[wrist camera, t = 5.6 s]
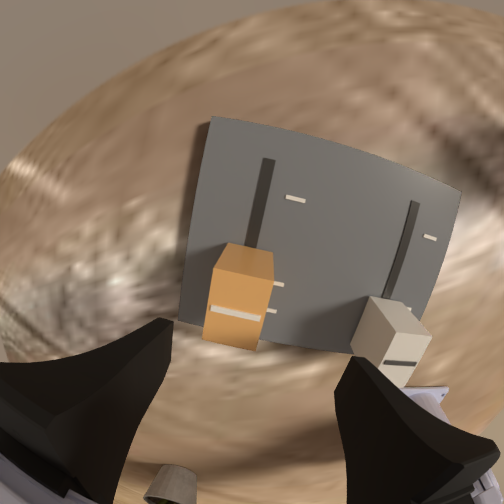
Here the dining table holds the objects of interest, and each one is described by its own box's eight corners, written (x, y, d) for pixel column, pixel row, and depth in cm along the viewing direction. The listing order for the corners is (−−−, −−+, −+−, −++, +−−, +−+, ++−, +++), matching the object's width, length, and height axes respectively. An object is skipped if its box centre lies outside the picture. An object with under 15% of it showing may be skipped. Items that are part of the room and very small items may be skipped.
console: (395, 350, 20) (401, 359, 19) (182, 312, 20) (177, 320, 19) (452, 190, 16) (462, 191, 15) (215, 119, 16) (211, 115, 15)
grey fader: (381, 347, 19) (403, 388, 14) (349, 344, 19) (367, 387, 14) (401, 302, 18) (433, 337, 13) (369, 295, 18) (397, 333, 13)
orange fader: (258, 309, 18) (255, 352, 14) (217, 299, 18) (201, 340, 14) (272, 252, 17) (274, 282, 12) (228, 242, 17) (213, 268, 12)
